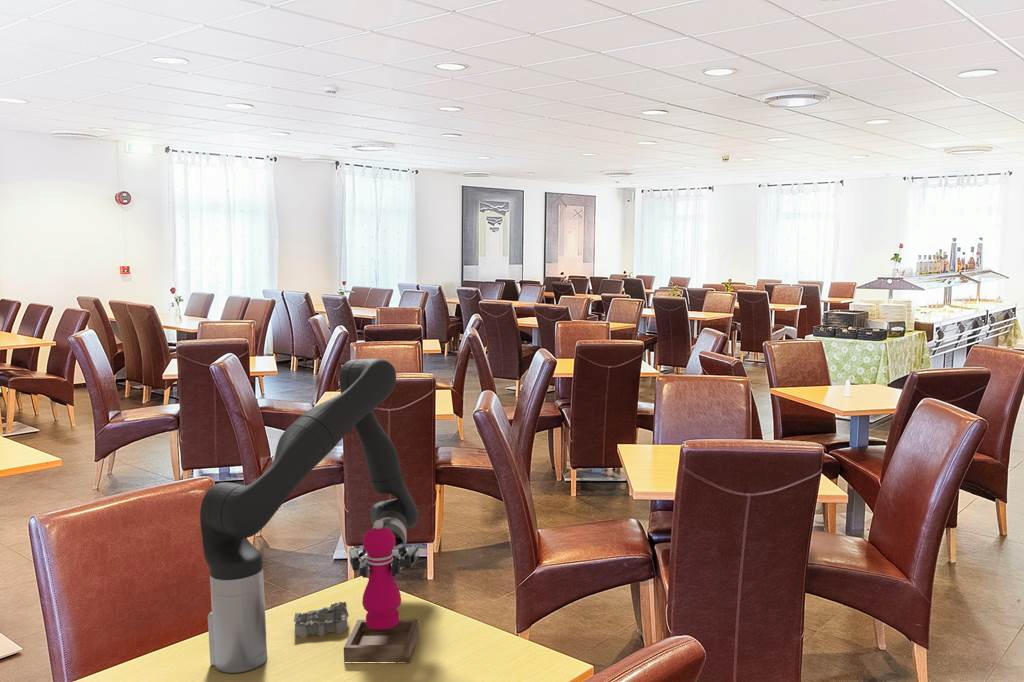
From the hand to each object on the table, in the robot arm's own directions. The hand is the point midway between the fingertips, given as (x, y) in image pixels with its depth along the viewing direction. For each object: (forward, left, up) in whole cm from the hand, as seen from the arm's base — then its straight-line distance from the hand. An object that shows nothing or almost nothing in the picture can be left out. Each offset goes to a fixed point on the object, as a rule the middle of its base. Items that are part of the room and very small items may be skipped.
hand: (379, 571), depth 156 cm
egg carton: (-17, +6, -16) cm, 25 cm away
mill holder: (-1, +2, -16) cm, 16 cm away
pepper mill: (-1, +3, -11) cm, 12 cm away
